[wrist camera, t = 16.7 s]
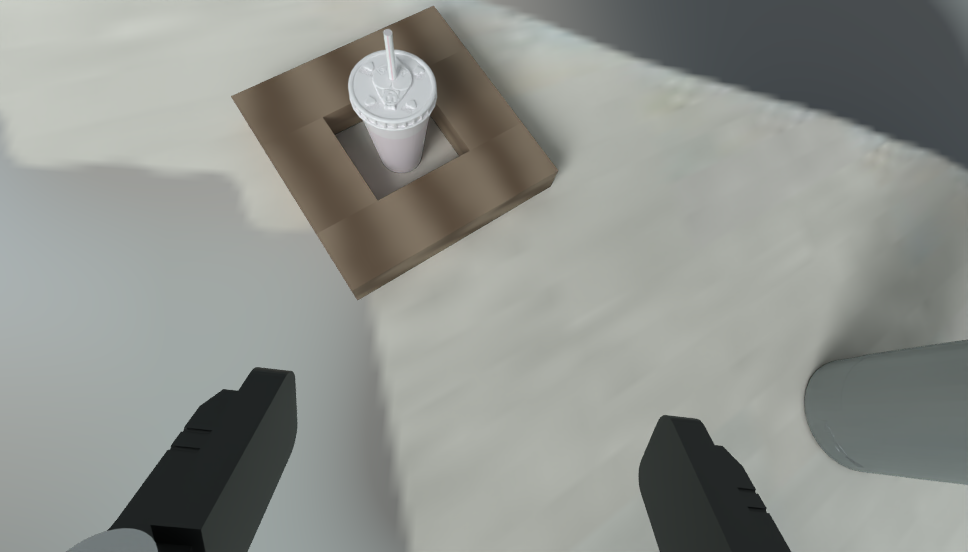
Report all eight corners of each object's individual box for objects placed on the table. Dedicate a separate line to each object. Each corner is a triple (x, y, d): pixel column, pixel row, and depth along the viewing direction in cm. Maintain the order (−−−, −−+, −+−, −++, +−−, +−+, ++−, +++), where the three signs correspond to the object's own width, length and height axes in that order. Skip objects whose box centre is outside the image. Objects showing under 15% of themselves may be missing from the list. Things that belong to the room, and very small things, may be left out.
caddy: (433, 30, 48) (433, 5, 46) (550, 186, 45) (558, 170, 42) (244, 117, 44) (230, 96, 41) (357, 300, 40) (351, 291, 37)
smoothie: (438, 126, 45) (440, 4, 32) (434, 189, 44) (435, 86, 30) (368, 121, 45) (340, -6, 31) (361, 184, 43) (329, 78, 30)
